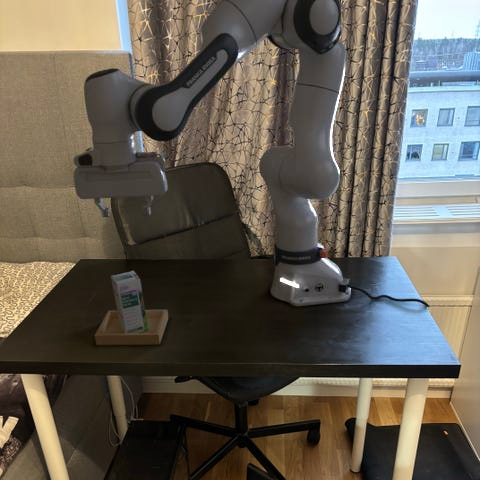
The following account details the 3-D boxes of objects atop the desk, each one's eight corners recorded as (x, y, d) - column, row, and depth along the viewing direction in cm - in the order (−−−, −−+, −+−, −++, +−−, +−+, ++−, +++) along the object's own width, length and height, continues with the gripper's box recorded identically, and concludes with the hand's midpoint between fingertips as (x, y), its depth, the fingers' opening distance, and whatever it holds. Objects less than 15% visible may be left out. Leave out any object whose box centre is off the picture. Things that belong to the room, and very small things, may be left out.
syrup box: (126, 336, 122) (116, 283, 115) (119, 326, 126) (110, 274, 119) (148, 330, 124) (140, 277, 117) (141, 320, 129) (133, 269, 121)
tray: (168, 318, 131) (167, 309, 129) (159, 344, 120) (158, 334, 118) (110, 319, 131) (108, 310, 130) (96, 345, 120) (94, 335, 119)
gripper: (165, 148, 109) (173, 209, 116) (75, 152, 110) (88, 213, 117) (161, 154, 104) (169, 218, 111) (65, 159, 105) (79, 221, 112)
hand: (126, 215), depth 114 cm, fingers open, 8 cm apart
